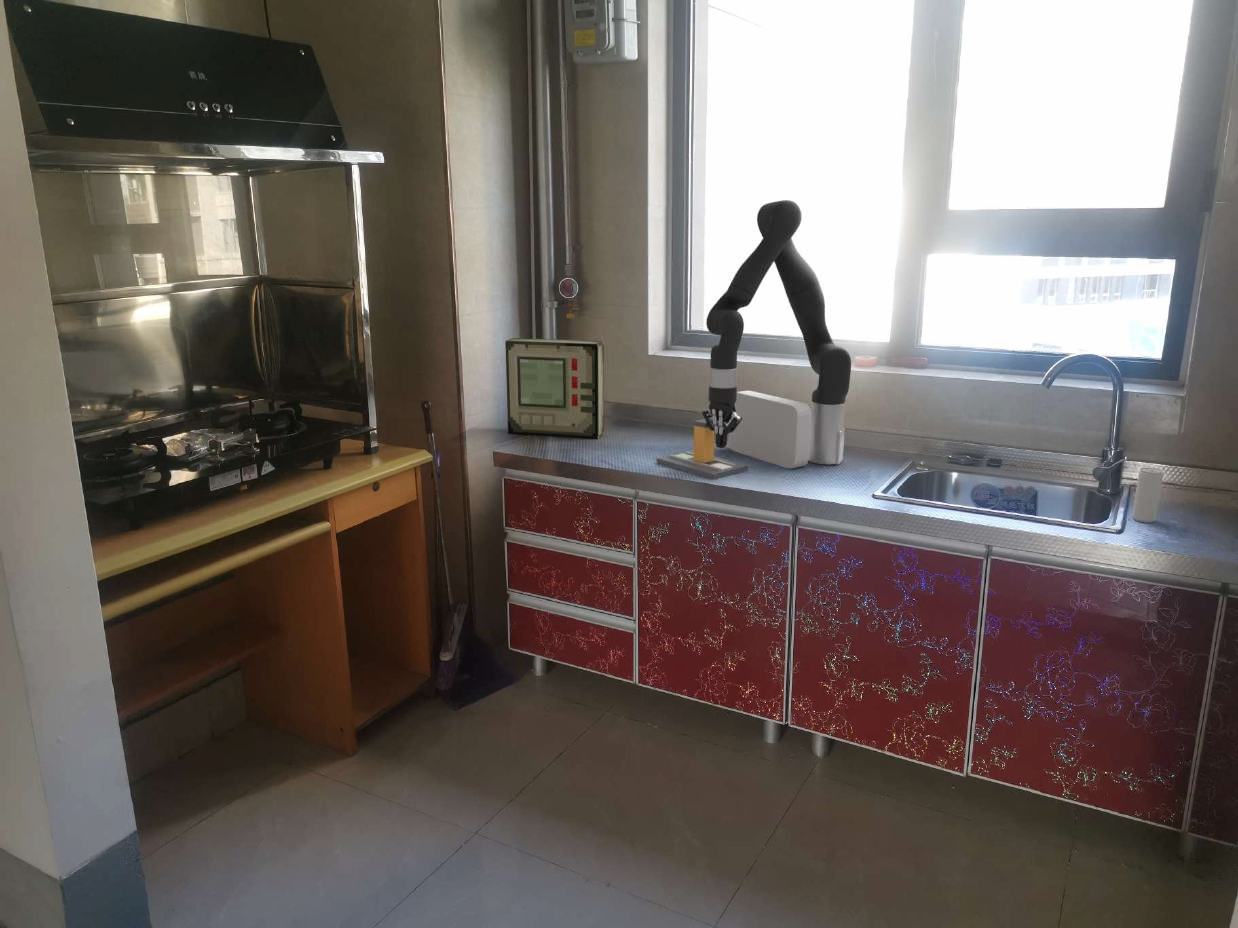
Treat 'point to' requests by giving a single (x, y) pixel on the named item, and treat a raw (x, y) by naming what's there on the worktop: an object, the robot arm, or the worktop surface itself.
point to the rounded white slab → (772, 429)
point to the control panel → (555, 387)
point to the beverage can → (1147, 494)
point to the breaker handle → (703, 442)
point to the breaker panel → (702, 465)
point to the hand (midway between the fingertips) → (720, 447)
